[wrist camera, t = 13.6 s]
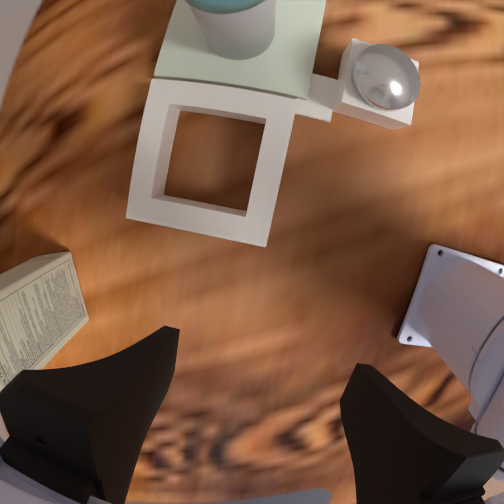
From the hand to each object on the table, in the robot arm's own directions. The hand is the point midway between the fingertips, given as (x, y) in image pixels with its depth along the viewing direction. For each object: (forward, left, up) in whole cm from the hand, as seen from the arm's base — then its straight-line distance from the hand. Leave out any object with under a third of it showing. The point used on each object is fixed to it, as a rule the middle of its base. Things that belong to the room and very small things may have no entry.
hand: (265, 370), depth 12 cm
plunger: (-4, -14, -10) cm, 18 cm away
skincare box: (+16, +5, -11) cm, 20 cm away
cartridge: (+5, -16, -9) cm, 19 cm away
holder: (+2, -10, -10) cm, 14 cm away
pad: (+5, -16, -10) cm, 20 cm away
